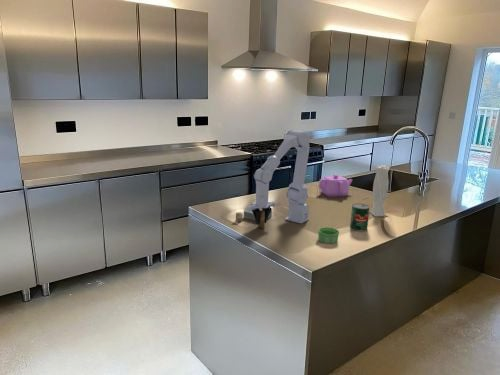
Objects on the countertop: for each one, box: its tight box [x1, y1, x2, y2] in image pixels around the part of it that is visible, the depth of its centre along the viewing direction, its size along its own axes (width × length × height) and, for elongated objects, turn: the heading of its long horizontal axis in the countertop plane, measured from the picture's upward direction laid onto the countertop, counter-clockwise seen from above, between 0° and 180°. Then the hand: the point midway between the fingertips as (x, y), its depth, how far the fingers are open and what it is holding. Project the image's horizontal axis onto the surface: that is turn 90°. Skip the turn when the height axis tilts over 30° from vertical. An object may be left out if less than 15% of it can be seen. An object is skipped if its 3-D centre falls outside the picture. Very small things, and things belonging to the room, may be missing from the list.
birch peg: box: [235, 211, 244, 223], centre depth 180 cm, size 3×3×4 cm
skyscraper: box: [369, 163, 391, 218], centre depth 191 cm, size 8×8×28 cm
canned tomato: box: [349, 202, 371, 232], centre depth 174 cm, size 8×8×11 cm
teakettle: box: [318, 174, 353, 198], centre depth 231 cm, size 17×17×12 cm
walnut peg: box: [257, 210, 266, 229], centre depth 172 cm, size 3×3×8 cm
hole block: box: [243, 208, 273, 222], centre depth 186 cm, size 10×10×4 cm
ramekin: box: [317, 226, 340, 245], centre depth 160 cm, size 9×9×4 cm
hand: (261, 223), depth 173 cm, fingers closed on walnut peg, 3 cm apart
